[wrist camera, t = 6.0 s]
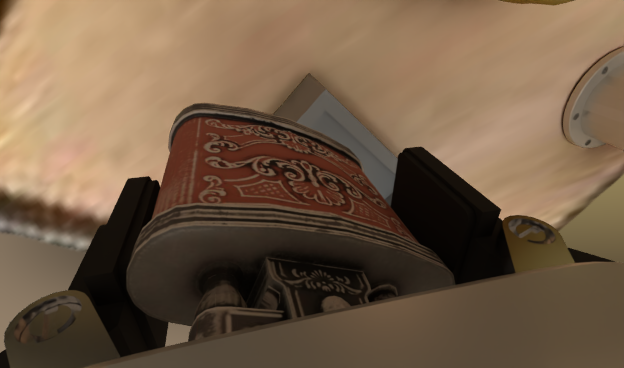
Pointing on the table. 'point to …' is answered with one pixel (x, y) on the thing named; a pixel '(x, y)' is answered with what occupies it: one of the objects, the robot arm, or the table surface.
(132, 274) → the lighter
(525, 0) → the pitcher
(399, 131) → the table surface
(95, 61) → the table surface
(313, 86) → the bin
